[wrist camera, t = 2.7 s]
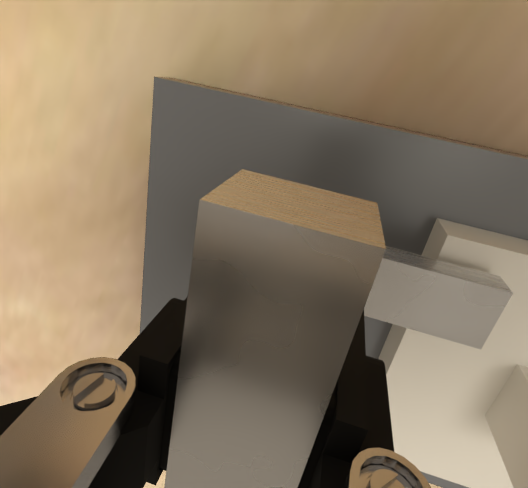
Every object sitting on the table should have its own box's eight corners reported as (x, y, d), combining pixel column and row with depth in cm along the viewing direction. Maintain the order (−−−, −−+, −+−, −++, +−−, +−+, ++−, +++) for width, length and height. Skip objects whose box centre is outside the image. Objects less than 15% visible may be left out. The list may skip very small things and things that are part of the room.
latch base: (813, 219, 14) (864, 233, 12) (560, 504, 21) (574, 532, 20) (170, 77, 17) (154, 77, 16) (149, 367, 25) (137, 383, 23)
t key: (518, 172, 14) (964, 401, 4) (428, 355, 18) (526, 715, 7) (305, 124, 15) (199, 199, 5) (263, 307, 19) (155, 564, 9)
